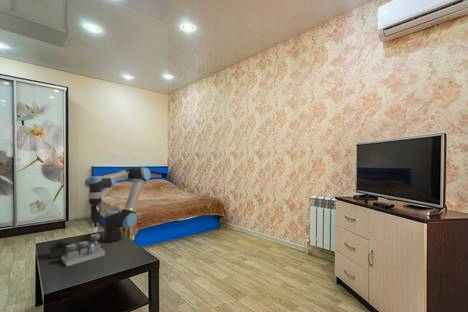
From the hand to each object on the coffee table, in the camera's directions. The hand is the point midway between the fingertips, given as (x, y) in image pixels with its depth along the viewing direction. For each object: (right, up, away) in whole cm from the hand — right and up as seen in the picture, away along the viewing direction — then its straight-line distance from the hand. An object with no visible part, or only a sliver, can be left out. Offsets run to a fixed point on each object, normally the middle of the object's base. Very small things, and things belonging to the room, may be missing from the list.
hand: (95, 231), depth 157 cm
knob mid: (-4, -13, -5) cm, 15 cm away
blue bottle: (+1, -13, -6) cm, 14 cm away
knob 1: (-9, -13, -10) cm, 19 cm away
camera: (-24, -17, 0) cm, 29 cm away
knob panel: (-4, -16, -5) cm, 18 cm away
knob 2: (0, -10, 0) cm, 10 cm away
